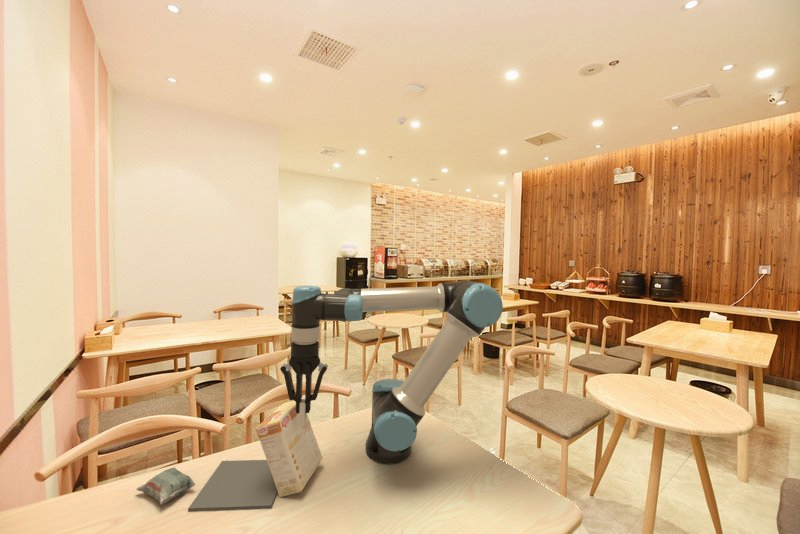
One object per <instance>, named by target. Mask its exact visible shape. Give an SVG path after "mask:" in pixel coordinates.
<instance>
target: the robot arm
mask: <svg viewBox="0 0 800 534" xmlns="http://www.w3.org/2000/svg"><path fill="white" fill-rule="evenodd" d="M503 307H504V305H503V301H502V297H501V295H500V293H499V292H498V291H497V290H496V289H495V288H493V287H492V286H489V285H488V284H486V283H483V282H477V281H473V280H461V281H454V282H442V283H438V284H437V285H436V286H414V287H413V286H411V287H410V286H409V287H406V286H405V287H381V288H380V287H377V288H375V287H373V288H348V287H345V288H343V287H342V288H341V289H338V290H337V291H336V292H335V293H324V292H323V293H322V291H321V287H320V286H318V285H298V286H295V287H294V288H293V292H292V302H291V336H290V337H291V338H290V339H291V341H292V342H291V343H290V357H289V360H288V361H287V362H286V363H283V364H282V365H281V366H280V371H281V373H282V374H283V377H284V381H285V387H286V391H287V396H288V399H289V401H295V402H296V413H299V426H305V424H306V417H307V415H308V414H309V413H310V411H311V405H312V403H311V402H312V401H317V397H318V395H319V391H320V388H321V385H322V380H323V377H324V375H325V373H326V371H327V370H328V367H329V365H328V364H325V363H323V362H321V358H320V356H319V355H320V354H319V353H320V342H319V339H320V325H321V323H320V321H323V322H324V321H332V322H333V321H334V322H335V321H336V322H337V321H338V322H351V323H352V322H359V321H361V320H362V319H363V313H368V312H369V313H370V312H372V313H373V312H376V313H377V312H397V311H398V312H402V311H404V312H405V311H419V310H420V311H425V310H427V311H428V310H429V311H430V310H438V311H439V312H440V313H445V315H446V321H445V323H444V324H443V325H442V326H441V328H440V330H438V332H437V334H436V335H435V336H434V337H433V339H432V341H431V342H430V344H429V345H428V346H427V348H426V350H425V351H424V352H423V353H422V355H421V357H420V358H419V359H418V361H417V363H416V364H415V365H414V367H413V368H412V370H410V372H409V374H408V375H407V376H406V378H405V380H400V379H394V378H392V379H391V378H386V379H380V380H377V381H375V382H374V383H372V390H371V392H372V396H371V397H372V398H371V399H372V400H371V427H370V430H369V433H368V436H367V439H366V441H365V454H366V456H367V457H369V459H371V460H372V461H374V462H377V463H380V464H386V465H387V464H389V465H392V464H397V463H401V462H403V461H405V460H407V458H409V457H410V455H411V453H412V445H413V443H414V442H415V440H416V437H417V434H418V427H417V426H418V425H419V424H420V422H421V420H422V419H423V417H424V416H425V415H426V410H425V405H426V404H427V402H428V401H429V399H430V398H431V396H432V395H433V394H434V392H435V391H436V389H437V387H439V385H440V384H441V382H442V381H443V379H444V377H446V375H447V373H448V372H449V370H450V369H451V368H452V366H453V365H454V363H455V361H456V360H458V358H459V356H460V354H462V352H463V350H464V349H465V347H467V345H468V343H469V341H470V340H471V339H473V338H478V337H480V336H481V334H482V333H483V332H484V330H485V328H487V327H491V326H493V325H495V324H496V323H497V322H498V321H499V319H501V316H502V314H503ZM317 367H318V372H319V373H318V376H317V379H316V382H315V386H314V388H313V393H312V385H313V384H312V382H313V381H312V380H313V379H312V378H313V377H312V376H313V374H314V372H315V370H316V369H317ZM291 370H293V371H294V373H295V379H296V382H295V386H294V382H293V381H294V380H293V377H292V373H291ZM303 375H305V394H304V395H305V397H304V398H303ZM301 398H302V400H301Z"/></svg>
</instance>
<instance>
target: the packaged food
mask: <svg viewBox="0 0 800 534" xmlns="http://www.w3.org/2000/svg"><path fill="white" fill-rule="evenodd" d="M195 485H196V483H195V482H194V480H193V479H192V478H191V477H190V476H189V475H186V473H183V472H181V471H180V470H179V469H177V468H176V467H171V468H168V469H165V470H163V471H161V472H160V473H158V474H156V475H154V476H153V477H152V478H150V479H149V480H147V481H146V482H145V483H144V484H142V485H141V486H138V487H137V488H136V491H139V492H143V493H144V494H146V495H148V496H150V497H152V498H154V499H156V501H157V502H159V504H160V505H161V506H162V505H163V504H166V503H168V502H169V501H171V500H173V499H174V498H176V497H177V496H179V495H181V494H183V493H185V492H187V491H189V490H190V489H191V488H192V487H194V486H195Z"/></svg>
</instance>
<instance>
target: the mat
mask: <svg viewBox="0 0 800 534" xmlns="http://www.w3.org/2000/svg"><path fill="white" fill-rule="evenodd" d="M277 494H278V491H277V488H276V485H275V482H274V479H273V476H272V473H271V471H270V468H269V465H268V462H267V459H250V460H249V459H248V460H246V459H245V460H243V459H241V460H240V459H239V460H222V461H221V462H220V463H219V464H218V466H217V467H216V469H215V470H214V471H213V473H212V474H211V476H210V477H209V478H208V480H207V481H206V482H205V484H204V486H203V487H202V488H201V489H200V491H199V492H198V494H197V495H196V497H195V498H194V499H193V501H192V503H191V504H190V505H189V507H188V508H187V512H189V513H190V512H208V511H209V512H212V511H238V510H242V511H243V510H261V509H262V510H264V509H265V510H267V509H272V507H273V505H274V502H275V499H276V497H277Z"/></svg>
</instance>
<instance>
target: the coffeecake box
mask: <svg viewBox="0 0 800 534" xmlns="http://www.w3.org/2000/svg"><path fill="white" fill-rule="evenodd" d="M302 399H303V397H302V398H301V400H302ZM255 431H256V434H257V436H258V439H259V442H260V445H261V447H262V450H263V453H264V456H265V460H267V462H268V465H269V468H270V471H271V473H272V476H273V479H274V482H275V485H276V488H277V491H278V492H277V494H278V496H279V498H283V497H286V496H289V495H293V494H297V493H301V492H303V490H304V488H305V487H306V485H307V484H308V481H310V479H311V477H312V475H313V474H314V472H315V471H316V469H317V468H318V466H319V465H320V464H321V461H322V460H323V459H324V458H323V456H322V452H321V449H320V447H319V443H318V441H317V438H316V435H315V433H314V429H313V427H312V424H311V421H310V419H309V415H308V414H307V417H306V424H305V426H299V413H296V402H295V401H294V400H289V401H286V402H284V403H282V404H280V406H279V407H278V408H276V409H275V410H274V411H273V412H271V414H270V415H268V416H267V417H266V418H265V419H264V420H263V421H262V422H261V423H259V425H257V426H256V427H255Z"/></svg>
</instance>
